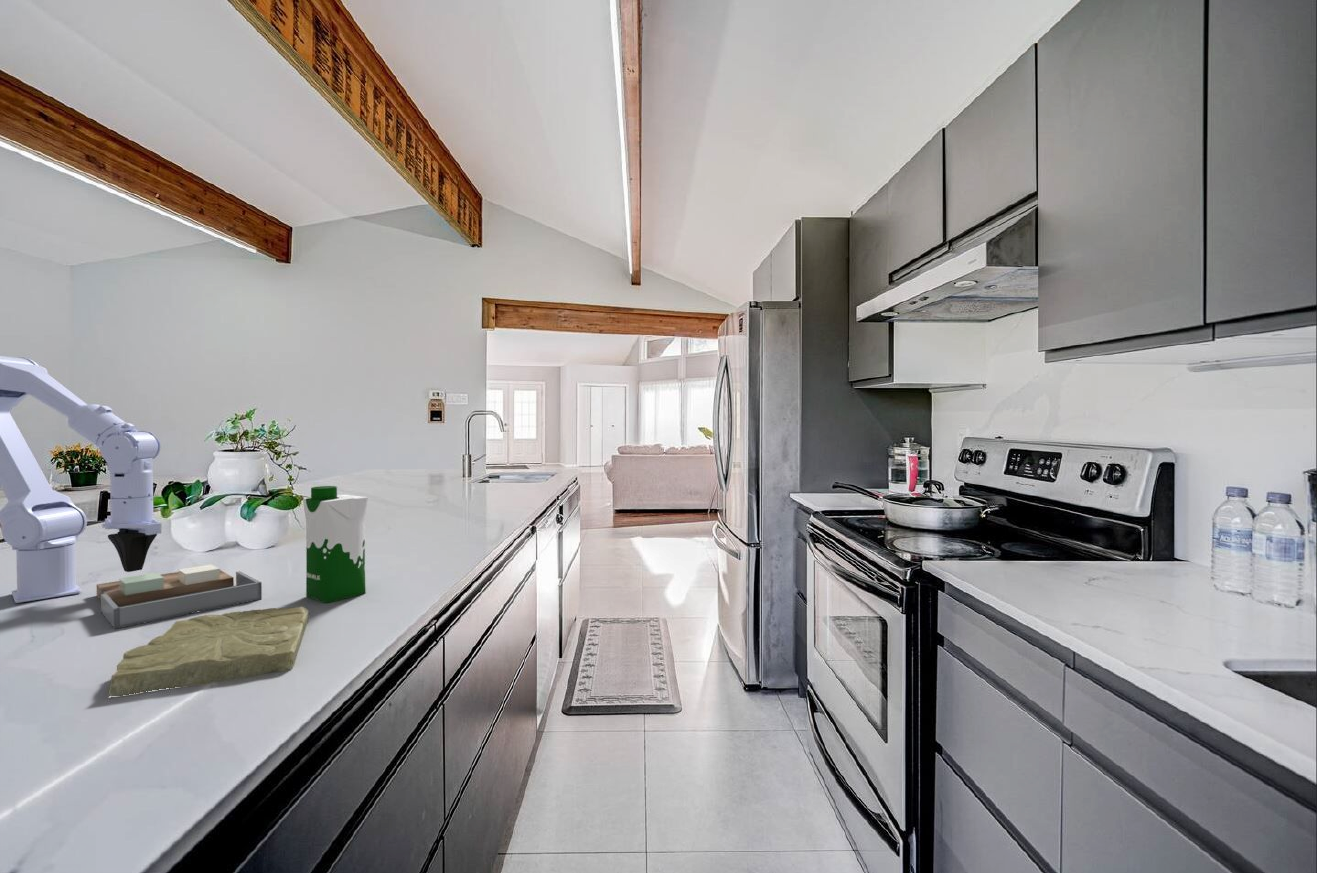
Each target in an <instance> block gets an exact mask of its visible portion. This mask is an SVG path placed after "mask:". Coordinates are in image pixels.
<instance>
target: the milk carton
mask: <svg viewBox="0 0 1317 873" xmlns="http://www.w3.org/2000/svg"><path fill="white" fill-rule="evenodd" d="M368 498H369V497H367V496H361V495H360V496H359V495H352V494H338V487H337V486H336V485H322V486H313V487H311V488H310V497H304V498H302V503H303V509H304V516H305V523H306V524H305V526H306V527H305V532H306V533H305V534H306V535H305V536H306V539H305V540H306V544H305V545H306V549H305V551H306V553H305V554H306V555H305V557H306V562H305V563H306V566H305V567H306V569H305V570H306V574H305V575H306V578H305V579H306V580H305V581H306V583H305V586H306V587H305V588H306V589H305V591H306V592H305V597H307V598H309V599H313V600H316V601H319V602H322V603H325V604H328V603H333V602H336V601H340V600H344V599H348V598H352V597H356V596H360V595H363V594H366V593H367V592H366V589H367V588H366V562H365V561H366V541H365V540H366V533H365V532H366V514H367V513H366V512H367V506H368V500H369V499H368Z"/></svg>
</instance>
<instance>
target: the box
mask: <svg viewBox="0 0 1317 873" xmlns="http://www.w3.org/2000/svg"><path fill="white" fill-rule="evenodd" d="M262 584H263V582H261V581H260V580H257V579H256V578H254V577H252V576H250V575H249V574H246V573H245V572H243V571H240V570H239V571H238V570H237V571H235V585H234V586H230V587H224V588H219V589H213V590H208V591H202V592H197V593H191V594H186V595H180V596H175V597H169V598H164V599H158V600H153V601H147V602H142V603H136V604H131V605H125V606H120V607H118V606H117V605H116V604H115V603H114V602H113V601H112V599H111V598H110V597H109V596H108V595H107V594H106V593H105V594H101V600H100V613H101V612H102V613H103V614H102V613H101V614H102V616H103V617H104V616H105V617H104V618H105V619H106V620H107V622H108V623H109V622H110V623H111V624H110V623H109V624H110V626H111V627H112V626H113V627H112V628H113V629H114V630H117V629H121V628H120V627H122V628H126V626H127V627H131V626H130V625H132V626H136V625H135V624H137V625H141V624H140V623H142V624H145V623H144V622H147V623H151V621H152V622H156V620H157V621H161V620H160V619H162V620H165V618H167V619H170V618H169V617H172V618H175V617H174V616H176V617H180V616H179V615H181V616H184V615H183V614H186V615H188V614H187V613H191V614H193V613H192V612H196V613H198V612H197V611H201V612H206V611H210V610H214V609H215V608H216V609H220V607H221V608H225V606H226V607H229V606H228V605H230V606H234V605H233V604H235V605H238V604H237V603H240V604H243V603H242V602H245V603H248V602H247V601H250V602H252V601H251V600H255V601H259V600H262V599H263V598H262V596H263V595H262V588H263V587H262ZM205 610H206V611H205Z"/></svg>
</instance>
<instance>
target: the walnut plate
mask: <svg viewBox="0 0 1317 873" xmlns="http://www.w3.org/2000/svg"><path fill="white" fill-rule="evenodd" d="M160 575H161V576H162V577H164V589H160V590H154V591H148V592H142V593H136V594H130V595H124V594H123V593H122V592H121V591H120V580H118V581H117V580H116V581H112V582H111V581H110V582H105V583H99V584H96V597H97V598H98V597H99V598H100V599H99V598H98V599H99V600H100V601H101V594H105V593H106V594H107V595H108V596H109V597H110V598H111V599H112V601H113V602H114V603H115V604H116V605H117V606H118V607H120V606H125V605H131V604H136V603H142V602H147V601H153V600H158V599H164V598H169V597H175V596H180V595H186V594H191V593H197V592H202V591H208V590H213V589H219V588H224V587H230V586H235V585H234V583H235V582H234V579H235V578H234V576H232V575H230V574H228V573H226V572H224V571H223V570H221V569H220V579H218V580H212V581H206V582H201V583H195V584H189V585H185V584H183V583H182V582H181V581H179V571H176V572H174V571H173V572H169V573H163V574H161V573H160Z"/></svg>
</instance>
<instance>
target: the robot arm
mask: <svg viewBox="0 0 1317 873" xmlns="http://www.w3.org/2000/svg"><path fill="white" fill-rule="evenodd" d="M27 396H31V397H33V398H34V399H36V400H38V401H40V402H41V403H43V404H45V405H47V406H48V407H50V408H52V409H53V410H55V411H56V412H58V413H60V414H61V415H63V416H65V417H67V419H68V421H67V424H68V427H69V428H70V429H71V430H73V431H75V432H76V433H78V435H80V436H82V437H83V438H85V439H86V440H88V441H89V442H90V443H92V444H93V445H95V446H96V447H98V449H99V452H100V455H101V457H102V458H103V459H104V461H105V462H106V464H107V471H109V478H110V479H109V481H110V483H109V484H110V517H109V518H104V523H102V524H101V526H102V528H104V530H112V529H113V530H118V531H117V533H110V534H107V538H108V540H109V541H110V542H111V543H112V544H113V546H114V548H115V550H116V551H117V553H118V556H119V559H120V563H121V565H122V568H123V571H124V572H125V573H131V572H137V571H142V570H143V568H144V565H145V562H146V558H147V555H148V552H149V550H150V548H151V545H152V543H153V542H154V540H155V538H156V537H157V536H158V535H159V534H162V522H159V521H158V520H156V518H154V472H153V471H154V470H153V469H154V467H153V466H154V465H153V463H154V461H153V460H154V459H155V458H157V457H158V456H159V454H160V451H161V449H162V448H161V441H160V439H159V438H158V437H157V436H156V435H155V434H154V433H153V432H152V431H149V430H137V428H135V425H134V424H132V423H131V422H126V421H125V420H123V419H122V418H121V417H119V416H117V415H115V414H114V413H113V410H114V409H113V408H111V407H109V406H108V405H100V404H99V403H98V404H97V403H95V404H94V403H93V404H87V403H86V402H85V401H84V400H82V399H81V398H79V397H78V396H77V395H76V394H74V393H73V392H72V391H71V390H69V389H68V388H66V387H65V386H64V385H63V384H61V383H60V382H59V381H58V380H56V379H55V378H54V377H52V376H51V375H50V374H49V372H48V369H47V368H45V367H44V366H42V365H40V364H38V363H37V362H36V361H34V360H32V359H30V358H29V357H16V356H15V357H14V356H3V355H0V488H1V490H2V491H3V494H4V495H5V497H6V499H7V501H8V502H7V503H6V504H5V505H4V506H3V507H2V508H1V509H0V523H1V536H2V537H3V539H4V541H5V542H6V543H7V544H8V545H10V546H11V548H12V550H13V551H16V589H15V590H11V595H12V598H13V600H14V603H15V604H18V603H24V602H25V603H26V602H31V601H37V600H45V599H50V598H56V597H63V596H64V597H65V596H69V595H74V594H76V595H77V594H80V593H83V592H82V589H81V587H80V586H79V585H78V584H77V583H76V582H77V578H76V569H77V568H76V542H78V541H79V536H80V535H82V534H83V532H84V531H85V530H86V528H87V524H88V518H87V516H86V513H85V512H84V511H83V510H82V509H81V508H80V507H78V506H76V505H75V504H74V502H73V501H72V499H71V498H70V496H68V495H65V494H64V493H62V492H59V491H57V490H55V489H53V488H52V486H51V485H50V483H49V481H48V480H47V478H46V475H45V474H44V473H43V471H42V470H43V469H41V467H40V464H39V463H38V461H37V460H36V458H35V456H34V454H33V452H32V450H31V449H30V447H29V445H28V443H27V441H26V439H25V438H24V435H23V434H22V432H21V431H20V429H19V427H18V425H17V423H16V422H15V420H14V418H13V416H12V414H11V410H12V409H13V407H16V406H18V405H19V404H20V403H21V402H22V401H24V400H25V398H26V397H27Z"/></svg>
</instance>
